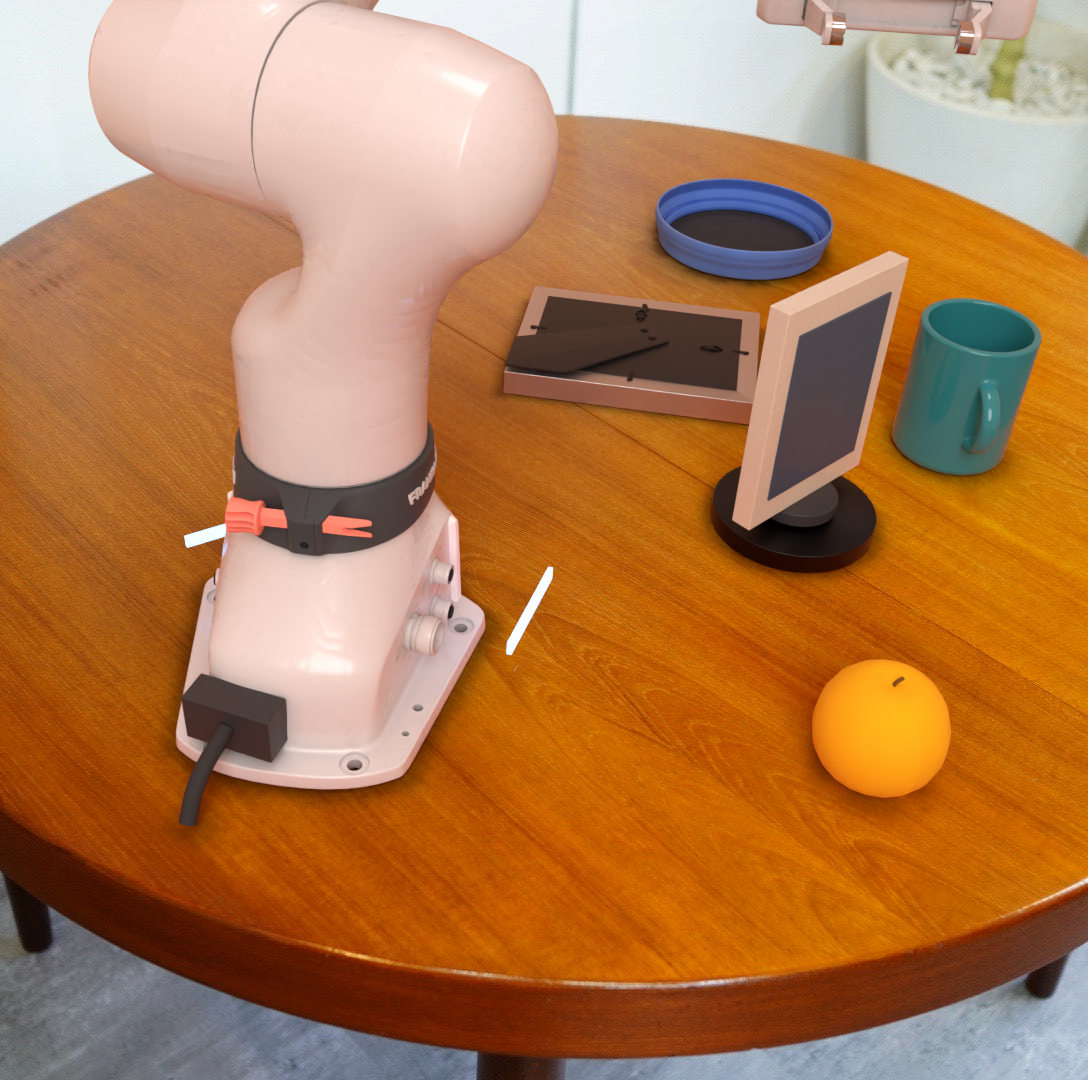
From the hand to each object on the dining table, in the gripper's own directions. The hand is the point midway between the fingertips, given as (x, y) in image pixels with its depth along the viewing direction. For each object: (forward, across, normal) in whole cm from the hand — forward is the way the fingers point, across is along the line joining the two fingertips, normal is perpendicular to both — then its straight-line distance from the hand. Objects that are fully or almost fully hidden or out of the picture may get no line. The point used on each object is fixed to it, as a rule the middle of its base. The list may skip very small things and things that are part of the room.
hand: (901, 40), depth 93 cm
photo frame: (+22, -4, +25) cm, 33 cm away
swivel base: (+22, -4, +27) cm, 35 cm away
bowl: (-25, -7, +34) cm, 43 cm away
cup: (+11, +9, +29) cm, 33 cm away
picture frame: (+1, -17, +30) cm, 35 cm away
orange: (+46, 0, +24) cm, 51 cm away
